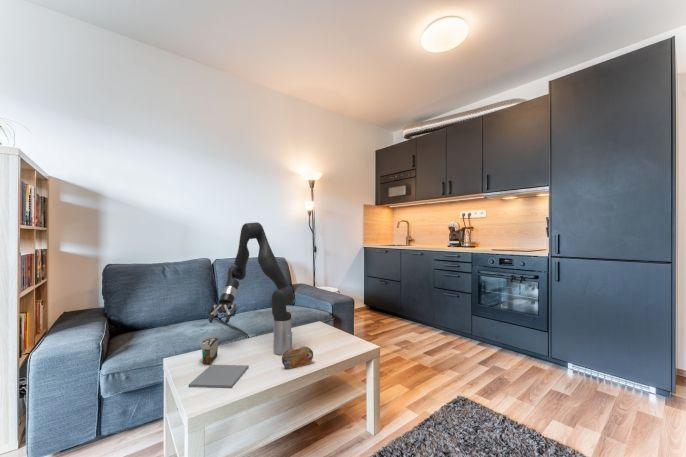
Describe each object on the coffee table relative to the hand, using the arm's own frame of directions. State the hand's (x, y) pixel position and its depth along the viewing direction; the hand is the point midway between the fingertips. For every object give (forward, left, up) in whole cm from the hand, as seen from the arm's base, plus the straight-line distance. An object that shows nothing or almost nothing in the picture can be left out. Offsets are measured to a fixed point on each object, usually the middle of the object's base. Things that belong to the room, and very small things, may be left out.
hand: (218, 322), depth 153 cm
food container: (0, +11, -16) cm, 19 cm away
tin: (-46, +14, -16) cm, 50 cm away
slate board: (-14, +26, -16) cm, 33 cm away
